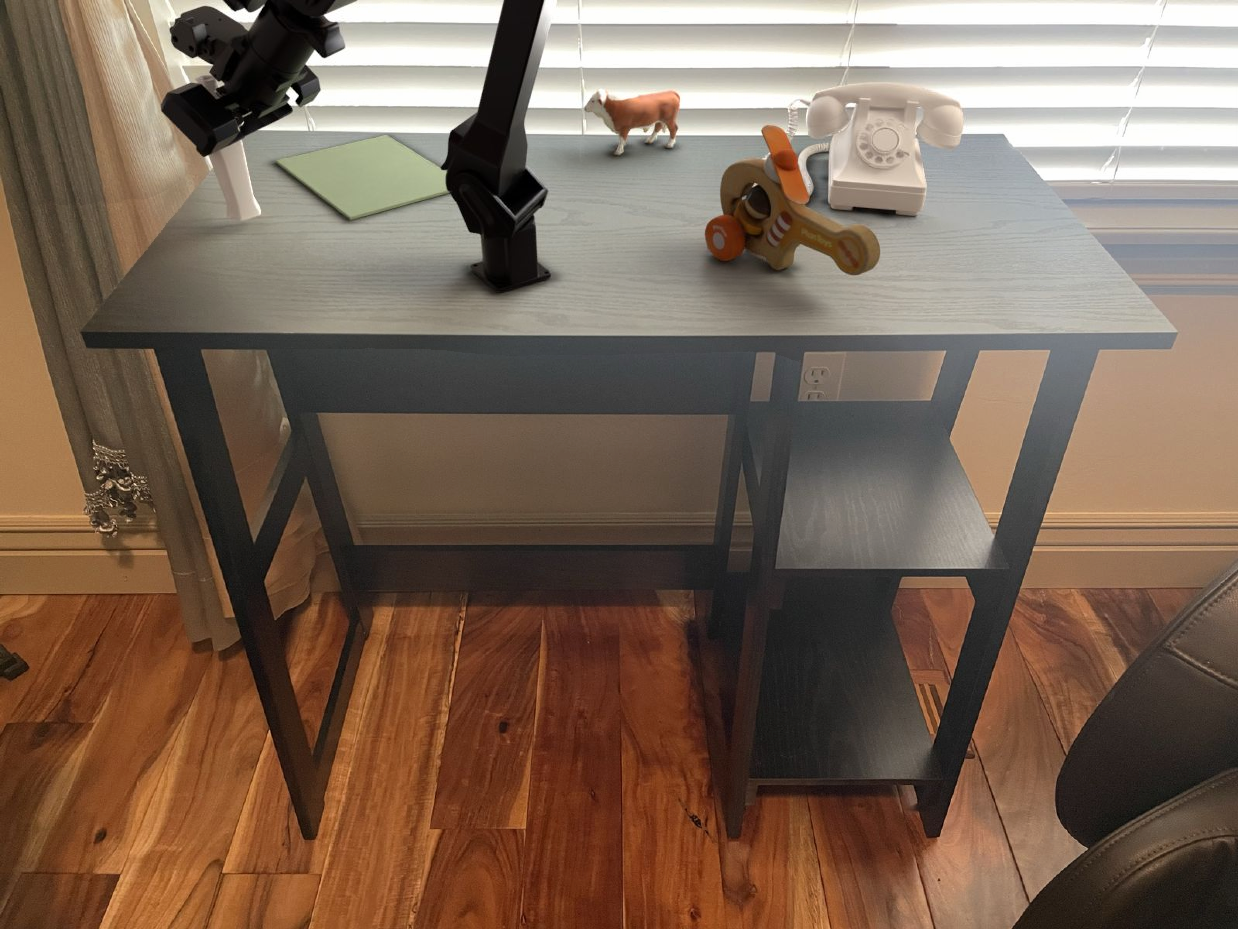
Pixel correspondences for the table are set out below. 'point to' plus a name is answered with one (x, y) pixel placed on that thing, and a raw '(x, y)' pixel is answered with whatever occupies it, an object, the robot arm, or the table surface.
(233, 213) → the perfume bottle
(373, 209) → the mat
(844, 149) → the telephone
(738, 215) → the toy helicopter
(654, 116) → the bull figurine
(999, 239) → the table surface
